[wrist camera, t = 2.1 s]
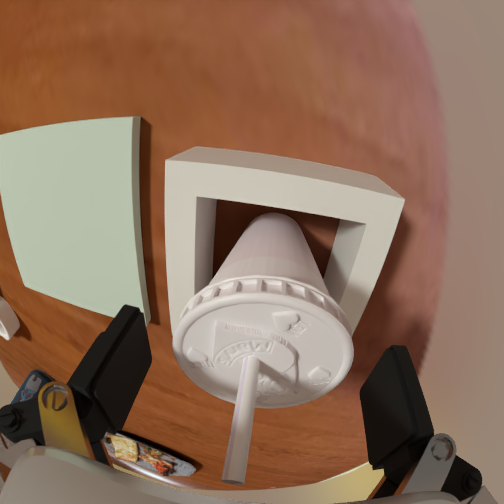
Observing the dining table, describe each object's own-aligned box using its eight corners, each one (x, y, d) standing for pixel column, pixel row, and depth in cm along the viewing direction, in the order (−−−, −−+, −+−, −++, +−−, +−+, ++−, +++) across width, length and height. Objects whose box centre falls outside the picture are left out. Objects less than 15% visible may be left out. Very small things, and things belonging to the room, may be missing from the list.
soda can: (51, 389, 37) (26, 433, 27) (28, 365, 34) (0, 409, 24) (68, 393, 36) (42, 442, 25) (44, 367, 33) (12, 418, 22)
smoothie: (290, 170, 15) (305, 425, 3) (342, 255, 17) (396, 482, 5) (203, 226, 17) (83, 436, 5) (260, 296, 19) (228, 502, 7)
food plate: (184, 475, 52) (181, 485, 49) (101, 441, 50) (97, 451, 47) (206, 455, 40) (203, 470, 37) (92, 408, 38) (85, 421, 35)
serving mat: (3, 134, 15) (-5, 136, 14) (140, 116, 14) (132, 117, 13) (29, 281, 22) (24, 286, 22) (151, 318, 22) (146, 326, 21)
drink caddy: (196, 146, 15) (165, 159, 11) (375, 175, 14) (405, 199, 11) (191, 292, 20) (172, 335, 16) (331, 314, 20) (339, 360, 16)
